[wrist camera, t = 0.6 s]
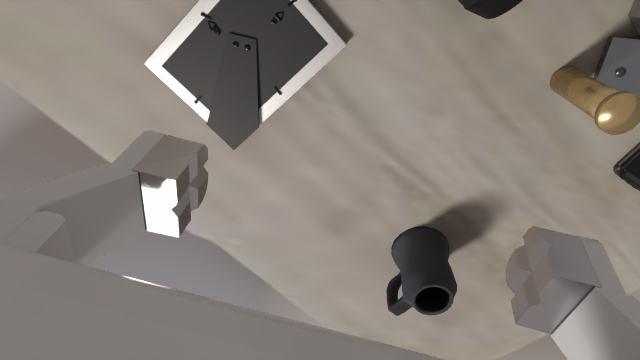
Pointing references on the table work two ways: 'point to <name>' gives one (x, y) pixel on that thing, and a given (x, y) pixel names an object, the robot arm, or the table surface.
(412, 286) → the mug
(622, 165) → the phone
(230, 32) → the picture frame
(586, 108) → the pin
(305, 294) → the table surface
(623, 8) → the table surface
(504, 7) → the portable speaker
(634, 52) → the hinge body
